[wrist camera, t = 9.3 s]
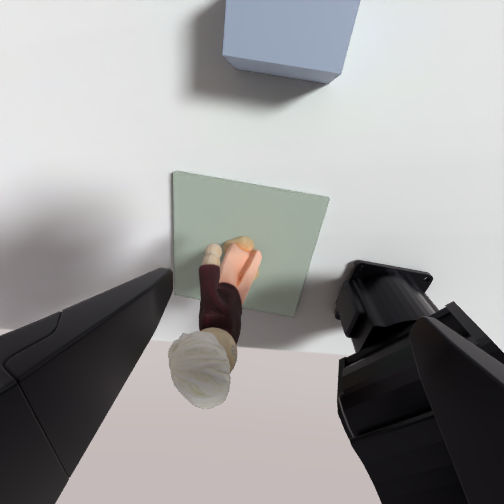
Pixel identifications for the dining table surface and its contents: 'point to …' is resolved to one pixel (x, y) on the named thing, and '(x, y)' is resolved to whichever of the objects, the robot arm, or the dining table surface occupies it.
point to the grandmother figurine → (215, 324)
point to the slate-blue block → (289, 37)
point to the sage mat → (246, 224)
